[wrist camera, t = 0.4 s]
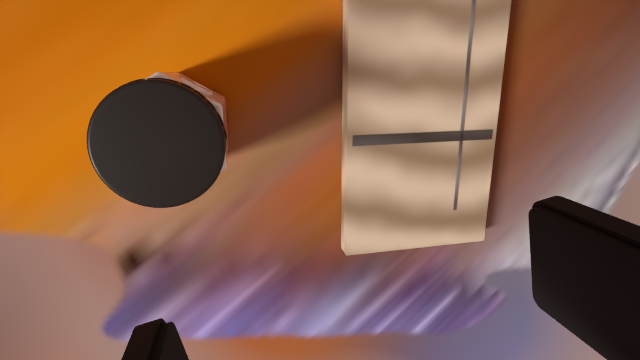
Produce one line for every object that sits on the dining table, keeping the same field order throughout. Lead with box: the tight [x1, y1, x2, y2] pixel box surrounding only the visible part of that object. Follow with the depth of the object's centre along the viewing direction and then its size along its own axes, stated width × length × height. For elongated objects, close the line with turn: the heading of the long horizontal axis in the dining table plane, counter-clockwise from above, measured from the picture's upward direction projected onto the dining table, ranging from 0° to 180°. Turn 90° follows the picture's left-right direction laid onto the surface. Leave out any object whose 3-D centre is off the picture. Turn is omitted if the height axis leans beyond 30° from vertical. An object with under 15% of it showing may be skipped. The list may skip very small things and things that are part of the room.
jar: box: [87, 72, 229, 208], centre depth 29 cm, size 9×8×12 cm
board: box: [341, 0, 511, 255], centre depth 37 cm, size 36×16×2 cm, turn 0°
